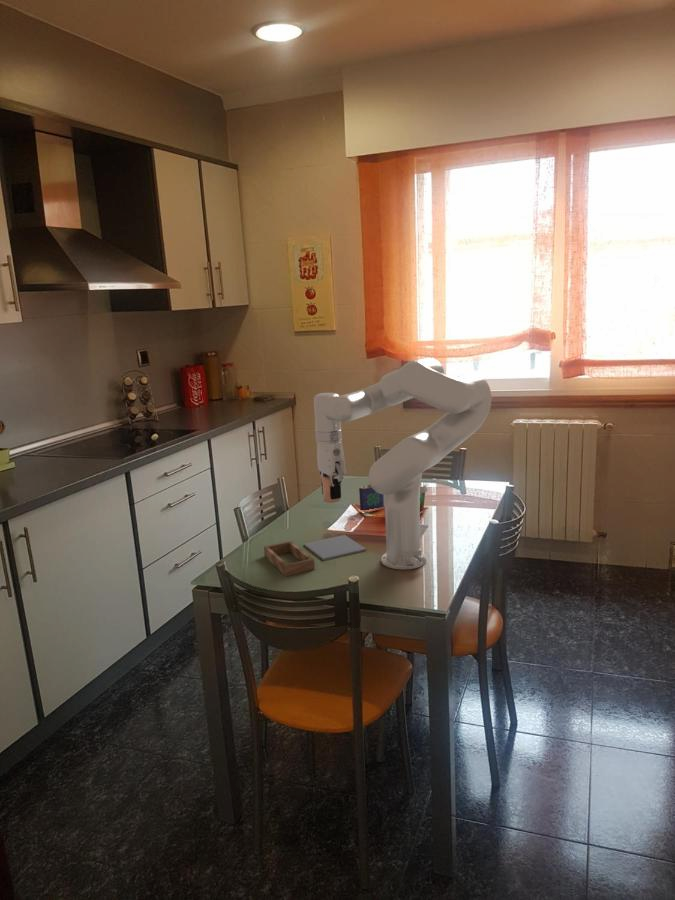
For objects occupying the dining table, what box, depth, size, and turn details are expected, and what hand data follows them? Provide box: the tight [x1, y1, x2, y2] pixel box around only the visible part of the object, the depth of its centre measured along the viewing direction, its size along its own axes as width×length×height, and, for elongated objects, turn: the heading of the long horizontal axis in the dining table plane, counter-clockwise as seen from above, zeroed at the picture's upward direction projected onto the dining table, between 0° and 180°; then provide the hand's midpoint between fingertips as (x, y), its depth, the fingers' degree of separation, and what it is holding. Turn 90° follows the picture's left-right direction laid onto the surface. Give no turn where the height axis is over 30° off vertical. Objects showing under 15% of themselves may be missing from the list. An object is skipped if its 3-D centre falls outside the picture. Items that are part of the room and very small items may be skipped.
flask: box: [358, 483, 385, 510], centre depth 230 cm, size 9×3×11 cm, turn 114°
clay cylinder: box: [321, 476, 341, 504], centre depth 194 cm, size 5×5×7 cm
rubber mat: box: [303, 534, 367, 561], centre depth 198 cm, size 14×14×1 cm
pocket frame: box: [263, 540, 315, 577], centre depth 188 cm, size 17×9×3 cm, turn 26°
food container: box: [420, 484, 428, 512], centre depth 224 cm, size 12×6×10 cm, turn 76°
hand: (331, 495), depth 194 cm, fingers closed on clay cylinder, 5 cm apart
